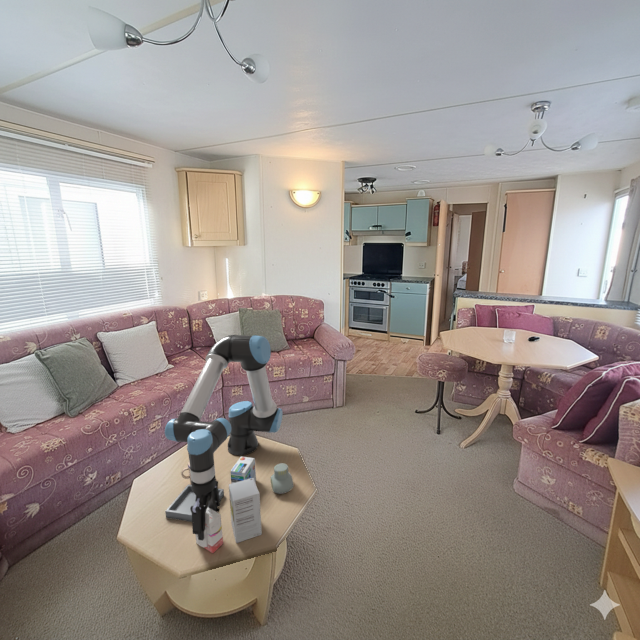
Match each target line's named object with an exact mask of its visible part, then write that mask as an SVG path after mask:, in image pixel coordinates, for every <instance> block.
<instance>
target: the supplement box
mask: <svg viewBox="0 0 640 640" xmlns="http://www.w3.org/2000/svg"><path fill="white" fill-rule="evenodd" d="M228 492H229V505H230V521H231V528H232V532H233V537H234V541H235V543H236V544H239V543H241V542H244V541H247V540H250V539H253V538H255V537H259V536H261V535H262V534H263V533H262V532H263V531H262V516H261V515H262V514H261V494H260V491H259V488H258V487H257V484H256V481H254V478H250V479H247V480H243V481H239V482H236V483H232V484H231V483H229V484H228Z"/></svg>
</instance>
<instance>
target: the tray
mask: <svg viewBox="0 0 640 640" xmlns="http://www.w3.org/2000/svg"><path fill="white" fill-rule="evenodd" d="M224 491H225V490H224V488H218V492H219V499H220V502H221V501H222V499H223V498H224V497H225V492H224ZM195 500H196V495H195V493H194V492H193V491H192V484H187V485H186V486H185V487H184V489H183V490H182V491H181V492H180V493H179V494H178V496H176V498H175V499H174V500H173V501H172V502H171V503H170V505H169V506H168V507H166V508H167V509H165V513H164V514H165V519H170V520H176V521H177V520H178V521H184V522H188V523H189V522H190V523H192V513H191V510H190V508H191V506H194V505H195V503H196V501H195ZM215 502H217V501H215Z"/></svg>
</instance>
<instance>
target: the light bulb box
mask: <svg viewBox="0 0 640 640" xmlns="http://www.w3.org/2000/svg"><path fill="white" fill-rule="evenodd" d="M229 473H230V474H229V475H230V484H232V483H236V482H239V481H243V480H247V479H250V478H254V481H255V482H256V481H257V475H256V474H257V471H256V459H255V457H249V456H248V457H247V456H240V457H239V459H237V461H236V463H235V464H234V465H233V467H232V468H231V470H230V472H229Z"/></svg>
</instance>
